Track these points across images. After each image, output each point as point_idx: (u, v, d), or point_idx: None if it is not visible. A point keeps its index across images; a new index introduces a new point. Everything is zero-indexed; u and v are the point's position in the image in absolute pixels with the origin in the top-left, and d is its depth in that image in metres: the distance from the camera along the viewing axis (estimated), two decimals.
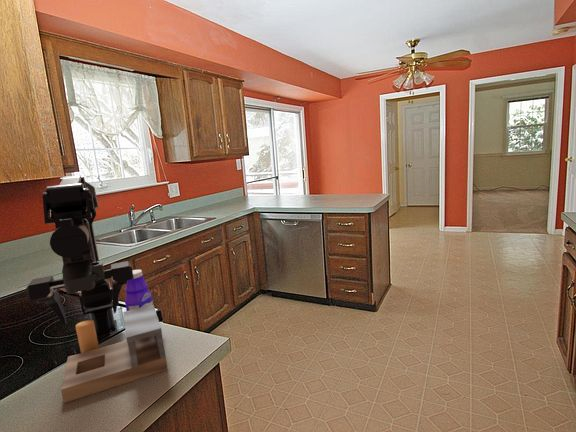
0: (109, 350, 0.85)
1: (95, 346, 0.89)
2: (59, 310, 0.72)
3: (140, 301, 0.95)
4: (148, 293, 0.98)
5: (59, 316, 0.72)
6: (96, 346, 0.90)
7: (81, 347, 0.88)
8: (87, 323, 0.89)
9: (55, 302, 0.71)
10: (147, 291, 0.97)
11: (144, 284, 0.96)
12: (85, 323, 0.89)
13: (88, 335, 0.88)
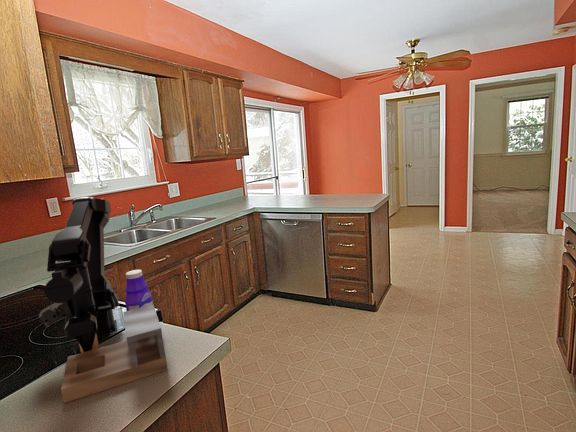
0: (109, 350, 0.85)
1: (95, 347, 0.89)
2: None
3: (140, 301, 0.95)
4: (148, 293, 0.98)
5: None
6: (96, 346, 0.90)
7: (81, 347, 0.88)
8: None
9: None
10: (147, 291, 0.97)
11: (144, 284, 0.96)
12: None
13: None
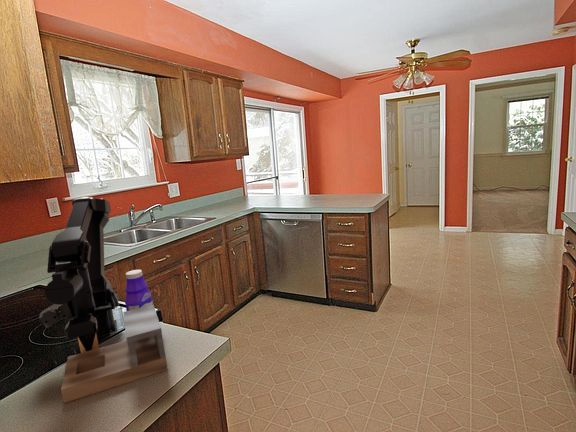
0: (109, 350, 0.85)
1: (95, 346, 0.89)
2: None
3: (140, 301, 0.95)
4: (148, 293, 0.98)
5: None
6: (96, 346, 0.90)
7: (81, 347, 0.88)
8: None
9: None
10: (147, 291, 0.97)
11: (144, 284, 0.96)
12: None
13: None
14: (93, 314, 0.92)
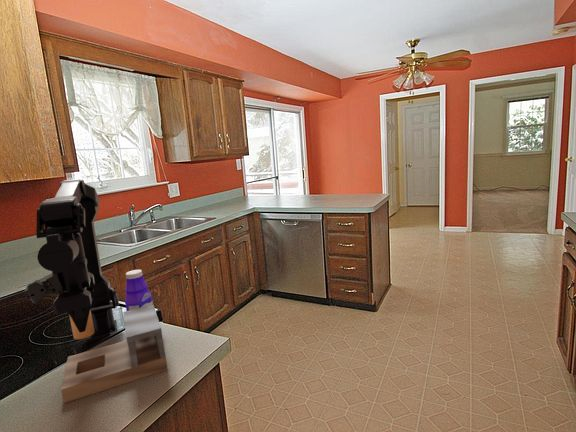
0: (109, 350, 0.85)
1: (89, 327, 0.78)
2: None
3: (140, 301, 0.95)
4: (148, 293, 0.98)
5: None
6: (90, 326, 0.78)
7: (72, 327, 0.77)
8: None
9: None
10: (147, 291, 0.97)
11: (144, 284, 0.96)
12: None
13: None
14: (88, 291, 0.81)
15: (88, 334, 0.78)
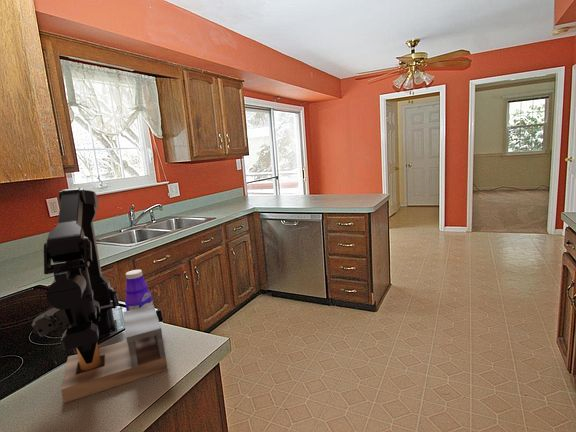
0: (109, 350, 0.85)
1: (96, 357, 0.79)
2: None
3: (140, 301, 0.95)
4: (148, 293, 0.98)
5: None
6: (97, 357, 0.79)
7: (79, 358, 0.77)
8: None
9: None
10: (147, 291, 0.97)
11: (144, 284, 0.96)
12: None
13: None
14: (94, 320, 0.82)
15: (95, 365, 0.78)
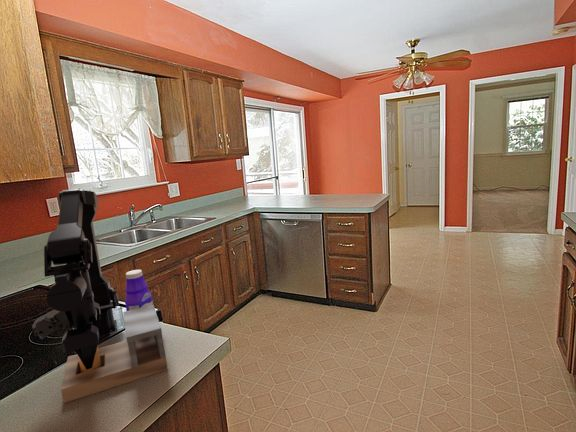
0: (109, 350, 0.85)
1: None
2: None
3: (140, 301, 0.95)
4: (148, 293, 0.98)
5: None
6: None
7: (82, 370, 0.78)
8: None
9: None
10: (147, 291, 0.97)
11: (144, 284, 0.96)
12: None
13: None
14: None
15: None
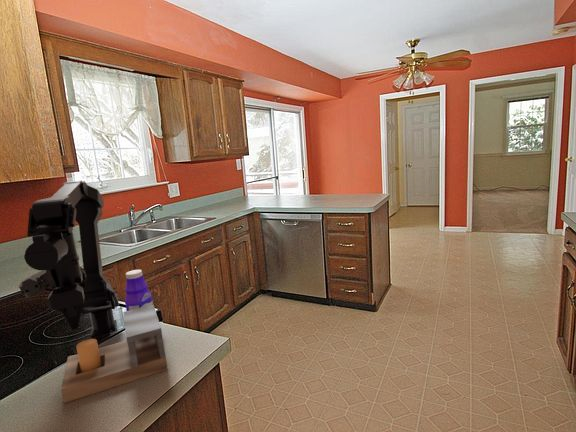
0: (109, 350, 0.85)
1: None
2: None
3: (140, 301, 0.95)
4: (148, 293, 0.98)
5: None
6: None
7: (82, 370, 0.78)
8: (89, 343, 0.78)
9: None
10: (147, 291, 0.97)
11: (144, 284, 0.96)
12: (87, 343, 0.78)
13: (90, 357, 0.78)
14: (80, 282, 0.87)
15: None
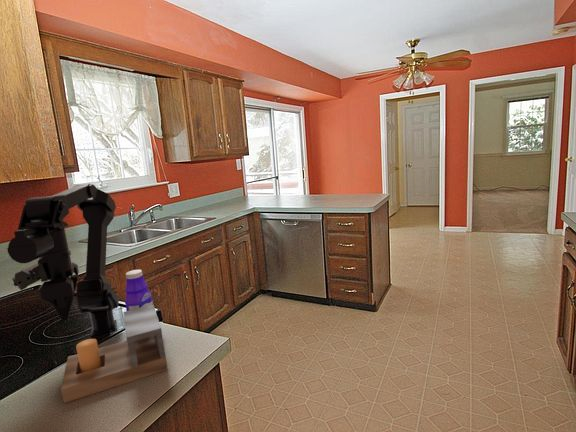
0: (109, 350, 0.85)
1: None
2: None
3: (140, 301, 0.95)
4: (148, 293, 0.98)
5: None
6: None
7: (82, 370, 0.78)
8: (89, 343, 0.78)
9: None
10: (147, 291, 0.97)
11: (144, 284, 0.96)
12: (87, 343, 0.78)
13: (90, 357, 0.78)
14: (72, 277, 0.91)
15: None
